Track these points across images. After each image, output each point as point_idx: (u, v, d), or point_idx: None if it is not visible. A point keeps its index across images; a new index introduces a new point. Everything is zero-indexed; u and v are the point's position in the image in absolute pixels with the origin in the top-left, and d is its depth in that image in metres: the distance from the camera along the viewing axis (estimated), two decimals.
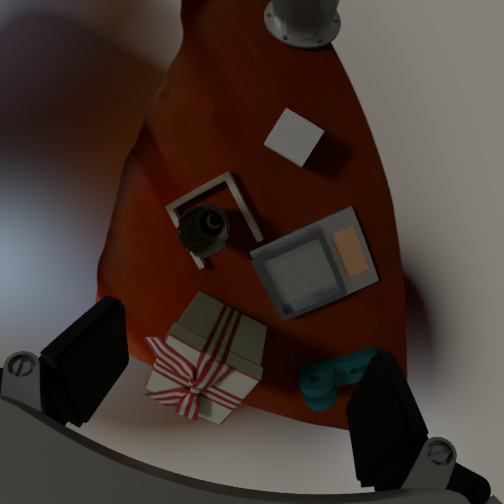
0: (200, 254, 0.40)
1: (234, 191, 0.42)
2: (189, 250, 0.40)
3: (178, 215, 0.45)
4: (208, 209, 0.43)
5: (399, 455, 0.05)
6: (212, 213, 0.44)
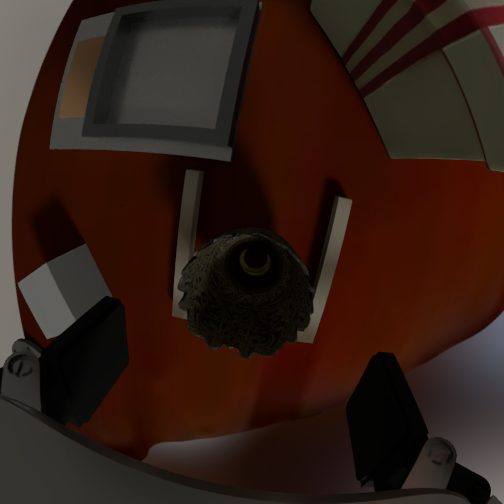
0: (293, 256, 0.14)
1: None
2: (311, 282, 0.14)
3: None
4: (239, 292, 0.21)
5: (399, 455, 0.05)
6: (240, 279, 0.21)
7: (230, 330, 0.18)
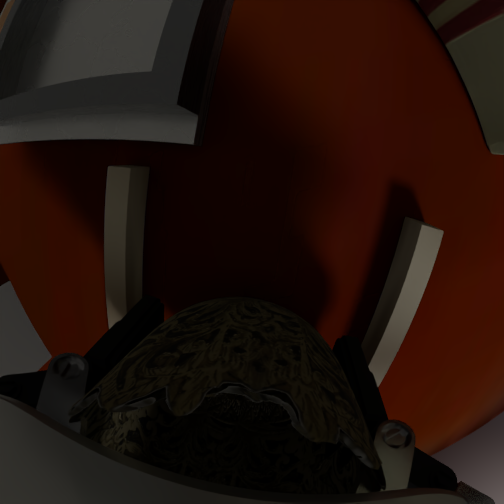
0: (350, 441, 0.04)
1: None
2: (381, 469, 0.04)
3: None
4: (220, 396, 0.10)
5: None
6: None
7: (200, 479, 0.07)
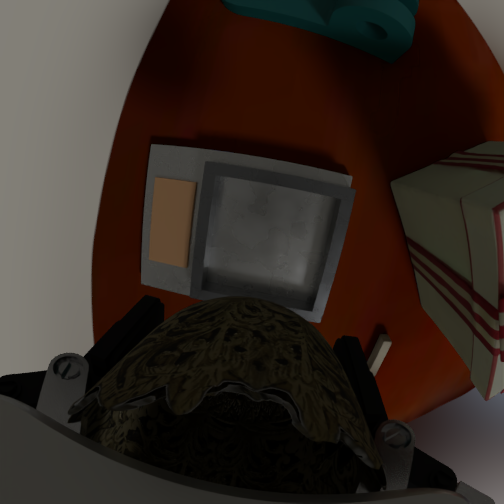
0: (350, 440, 0.04)
1: None
2: (382, 469, 0.04)
3: None
4: (221, 396, 0.10)
5: None
6: None
7: (200, 479, 0.07)
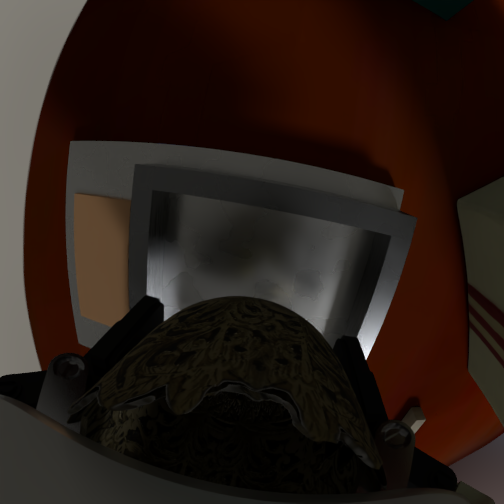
0: (351, 440, 0.04)
1: None
2: (382, 469, 0.04)
3: None
4: (221, 396, 0.10)
5: None
6: None
7: (200, 479, 0.07)
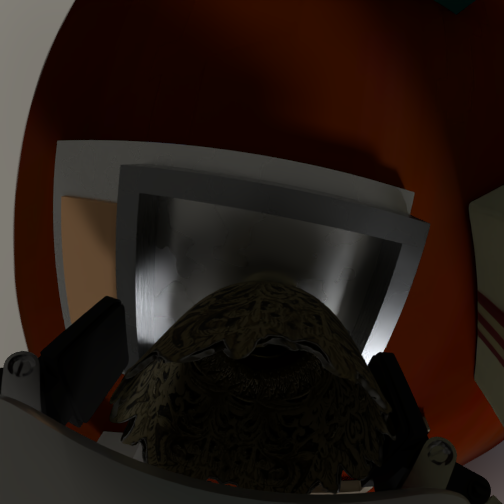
0: (365, 387, 0.05)
1: None
2: (390, 422, 0.05)
3: None
4: (240, 376, 0.12)
5: (399, 455, 0.05)
6: None
7: (223, 452, 0.08)
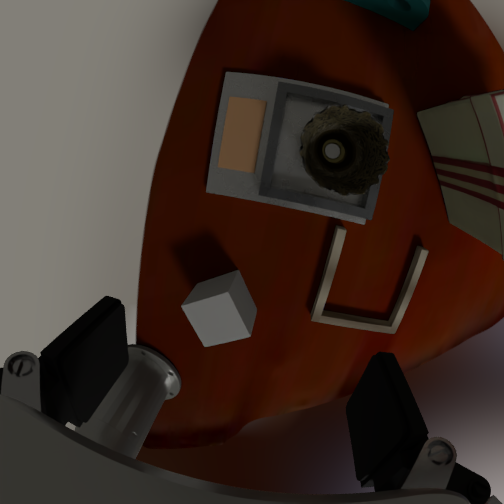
0: (374, 123, 0.19)
1: (322, 299, 0.32)
2: (386, 141, 0.19)
3: (393, 314, 0.33)
4: (325, 170, 0.26)
5: (399, 455, 0.05)
6: (325, 161, 0.26)
7: (327, 184, 0.23)
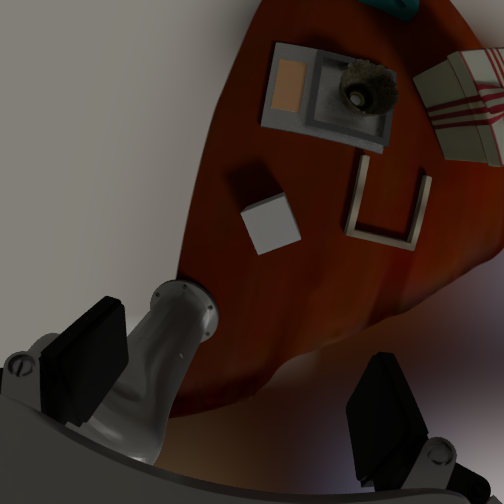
0: (386, 72, 0.26)
1: (354, 214, 0.38)
2: (395, 84, 0.26)
3: (410, 234, 0.39)
4: None
5: (399, 455, 0.05)
6: (352, 103, 0.32)
7: None
